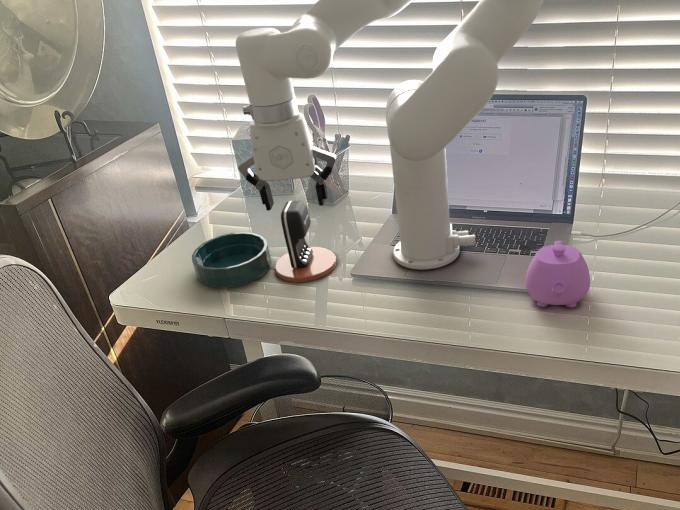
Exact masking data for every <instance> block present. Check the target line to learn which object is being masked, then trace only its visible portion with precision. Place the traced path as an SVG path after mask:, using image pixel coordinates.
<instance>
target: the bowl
mask: <svg viewBox="0 0 680 510" xmlns="http://www.w3.org/2000/svg"><path fill="white" fill-rule="evenodd" d="M191 261H192V264H193V268H194V271H195V274H196V277H197V280H198V281H199V282H200V283H201V284H203V285H205V286H207V287H212V288H233V287H238V286H239V287H240V286H242V285H243V286H244V285H246V284H248V283H250V282H253V281H255V280H257V279H259V278H260V277H262V276H263V275H265V273H266V272H268V271H269V269H270V268H271V266H272V263H273V262H272V258H271V253H270V249H269V245H268V241H267V239H266V238H265V236H262V235H261V234H259V233H255V232H247V231H246V232H245V231H241V232H239V231H238V232H230V233H226V234H221V235H217V236H216V237H212V238H210V239H208V240H206V241H204V242H203V243H201V244H200V245H199V246H197V247H196V248H195V249H194V251H193V253H192V254H191Z"/></svg>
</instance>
